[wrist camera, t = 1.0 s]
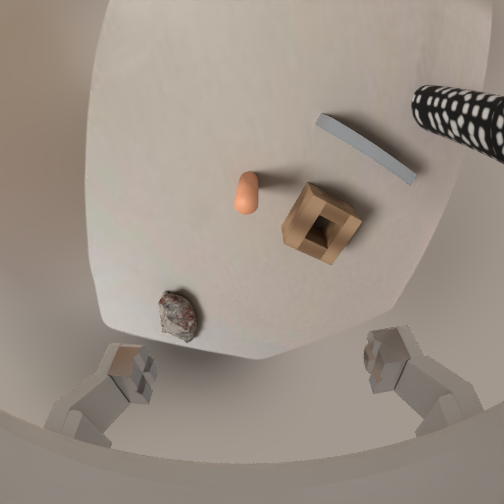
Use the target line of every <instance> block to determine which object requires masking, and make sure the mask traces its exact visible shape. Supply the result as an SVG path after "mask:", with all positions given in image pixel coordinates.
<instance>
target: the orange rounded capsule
mask: <svg viewBox="0 0 504 504" xmlns="http://www.w3.org/2000/svg"><path fill="white" fill-rule="evenodd" d="M235 207H236V209H237V210H238V211H239V212H240V213H242V214H252V213H253V212H255V211H256V209H257V207H258V177H257V175H256V174H255V173H253V172H245V173H243V174H242V175H241V177H240V181H239V185H238V190H237V195H236V199H235Z"/></svg>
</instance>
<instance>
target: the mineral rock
mask: <svg viewBox="0 0 504 504" xmlns="http://www.w3.org/2000/svg"><path fill="white" fill-rule="evenodd" d="M158 304H159V305H160V314H161V315H160V318H161V322H160V324H161V326H162V327H163V329H162V332H164V333H167V332H168V333H170V334H172V335H174V336H176V337H178V338H180V339H182V340H184V341H185V342H186V343H188V342H190V341H191V340H193V338H194V335H195V331H196V327H197V319H196V318H197V316H196V315H195V311H194V309H193V307H192V305H191V303H190V302H189V301H188V300H187V299H185V298H184V297H182V296H179V295H175V294H174V293H171V294H170V293H169V294H168V293H167V292H163V295H162V297H161V299H160V301H159V303H158Z"/></svg>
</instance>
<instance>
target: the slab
mask: <svg viewBox="0 0 504 504" xmlns="http://www.w3.org/2000/svg"><path fill="white" fill-rule="evenodd" d="M316 125H318V126H319V127H321V128H322V129H324V130H326V131H327V132H329V133H331V134H333V135H334V136H336V137H338V138H339V139H341V140H343V141H344V142H346V143H348V144H349V145H351V146H353V147H354V148H356V149H357V150H359V151H361V152H362V153H364V154H365V155H367V156H368V157H370V158H372V159H373V160H375V161H376V162H378V163H379V164H381V165H382V166H384V167H385V168H386V169H388V170H389V171H391V172H392V173H394V174H395V175H397V176H398V177H399V178H401V179H402V180H403V181H405V182H406V183H408V184H409V185H410V186H411V184H412V183H413V181H414V180H415V178H416V176H417V175H416V174H415V173H414V172H412V171H411V170H410V169H409V168H407V167H406V166H405V165H403V164H402V163H400V162H399V161H398V160H396V159H395V158H394V157H392V156H391V155H389V154H388V153H386V152H385V151H384V150H382V149H381V148H379V147H378V146H376V145H375V144H373V143H372V142H370V141H369V140H367V139H366V138H364V137H363V136H361V135H360V134H358V133H356V132H355V131H353V130H352V129H350V128H348V127H347V126H345V125H343V124H342V123H340V122H338V121H337V120H335V119H333V118H332V117H329V116H327V115H324V114H322V113H321V115H320V117H319V119H318V120H317V122H316Z"/></svg>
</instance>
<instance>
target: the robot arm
mask: <svg viewBox="0 0 504 504" xmlns="http://www.w3.org/2000/svg"><path fill="white" fill-rule="evenodd" d="M367 340H368V344H367V345H366V346H365V349H364V364H365V368H366V371H368V372H369V373H370V374H371V376H370V379H369V381H370V384H371V388H372V391H373V394H376V393H382V392H387V391H392V390H394V392H396V393H397V394H398V395H399V396H400V397H401V398H402V399H403V400H404V401H405V402H406V403H407V404H408V405H409V406H411V407H412V408H413V409H414V410H415V411H416V412H417V413H418V414H419V415H420V416H421V417H422V418H423V419H424V420H423V422H422V423H421V424H420V425H419V427H418V428H417V429H416V431H415V433H416V438H413V439H410V440H407V441H403V442H400V443H396V444H393V445H389V446H384V447H381V448H377V449H372V450H368V451H363V452H358V453H352V454H348V455H341V456H335V457H329V458H323V459H314V460H305V461H294V462H281V463H257V464H230V463H206V462H193V461H182V460H172V459H165V458H158V457H151V456H146V455H139V454H134V453H129V452H124V451H120V450H115V449H111V445H112V442H111V441H110V440H109V439H108V438H107V437H106V436H105V435H104V434H103V433H104V432H105V431H106V430H107V428H108V427H109V426H110V425H111V424H112V423H113V422H114V421H115V420H116V419H117V418H118V417H119V415H120V414H121V413H122V412H123V411H124V410H125V409H126V408H127V407H128V406H129V405H130V403H136V404H149V402H150V399H151V395H152V392H153V391H152V389H151V385H152V384H153V383H154V382H155V381H156V377H157V367H156V363H155V361H154V359H152V358H151V357H150V356H149V353H150V351H149V349H148V348H147V346H145V345H131V344H116V343H111V344H110V345H109V346H108V348H107V350H106V352H105V354H104V356H103V359H102V361H101V363H100V365H99V367H98V370H97V372H96V374H92V375H90V376H89V377H88V378H86V379H85V380H84V381H82V382H81V383H80V384H78V385H77V386H76V387H75V388H73V389H72V390H71V391H69V392H68V393H67V394H66V395H64V396H63V397H62V398H60V399H59V400H58V401H57V402H55V403H54V405H53V407H52V409H51V411H50V414H49V416H48V418H47V420H46V423H45V425H44V428H42V427H40V426H37V425H35V424H32V423H30V422H27V421H25V420H23V419H20V418H18V417H16V416H14V415H12V414H9V413H7V412H5V411H3V410H1V409H0V504H504V401H503V402H501V403H499V404H497V405H495V406H493V407H491V408H489V409H487V410H485V411H484V409H483V407H482V405H481V403H480V401H479V399H478V396H477V394H476V392H475V390H474V388H473V386H472V384H470V383H469V382H467V381H466V380H464V379H463V378H461V377H460V376H458V375H457V374H455V373H453V372H452V371H451V370H449V369H447V368H446V367H444V366H443V365H441V364H440V363H438V362H437V361H435V360H434V359H432V358H430V357H429V356H428V355H427V356H424V355H423V353H422V351H421V349H420V347H419V345H418V343H417V341H416V339H415V337H414V335H413V333H412V331H411V329H410V327H409V326H408V325H403V326H397V327H391V328H385V329H380V330H374V331H370V332H369V333H368V337H367Z"/></svg>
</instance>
